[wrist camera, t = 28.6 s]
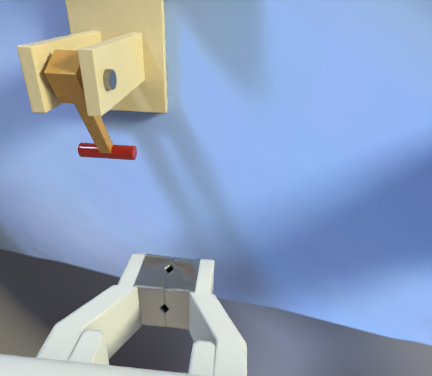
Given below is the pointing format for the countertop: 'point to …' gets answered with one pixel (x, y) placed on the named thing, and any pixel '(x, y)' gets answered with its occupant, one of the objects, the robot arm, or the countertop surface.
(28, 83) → the crank bracket
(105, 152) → the lever
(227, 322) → the robot arm
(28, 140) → the countertop surface
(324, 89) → the countertop surface
